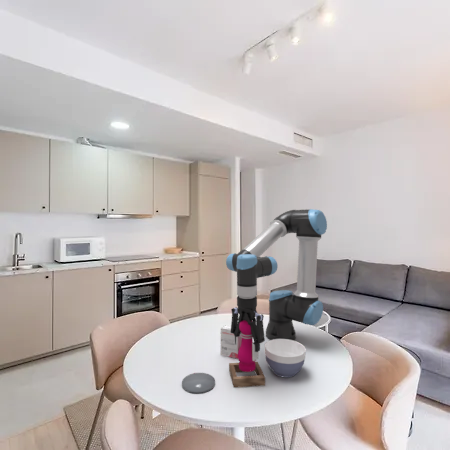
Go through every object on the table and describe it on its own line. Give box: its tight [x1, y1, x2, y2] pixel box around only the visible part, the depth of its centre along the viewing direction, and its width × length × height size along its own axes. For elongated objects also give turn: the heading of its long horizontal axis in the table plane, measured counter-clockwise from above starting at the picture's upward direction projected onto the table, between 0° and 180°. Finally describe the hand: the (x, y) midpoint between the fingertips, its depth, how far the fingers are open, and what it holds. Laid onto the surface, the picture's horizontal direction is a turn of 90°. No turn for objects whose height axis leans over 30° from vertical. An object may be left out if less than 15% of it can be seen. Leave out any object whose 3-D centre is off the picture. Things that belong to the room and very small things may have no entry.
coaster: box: [181, 372, 216, 395], centre depth 105 cm, size 12×12×1 cm
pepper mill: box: [237, 320, 257, 373], centre depth 109 cm, size 7×7×20 cm
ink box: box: [220, 325, 241, 360], centre depth 127 cm, size 9×5×12 cm, turn 65°
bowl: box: [264, 339, 307, 378], centre depth 114 cm, size 16×16×10 cm
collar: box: [228, 361, 266, 388], centre depth 109 cm, size 12×12×3 cm
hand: (247, 355), depth 109 cm, fingers closed on pepper mill, 7 cm apart
